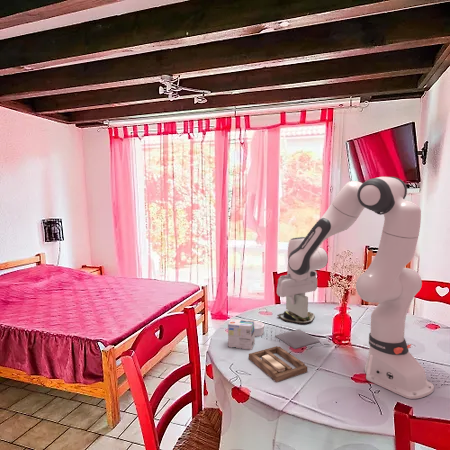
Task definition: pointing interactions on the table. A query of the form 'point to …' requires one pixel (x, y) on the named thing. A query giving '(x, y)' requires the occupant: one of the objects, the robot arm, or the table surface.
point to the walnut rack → (287, 356)
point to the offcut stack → (273, 363)
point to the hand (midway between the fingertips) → (296, 303)
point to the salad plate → (296, 317)
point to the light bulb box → (241, 334)
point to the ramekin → (258, 328)
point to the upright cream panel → (298, 305)
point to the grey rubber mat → (297, 339)
